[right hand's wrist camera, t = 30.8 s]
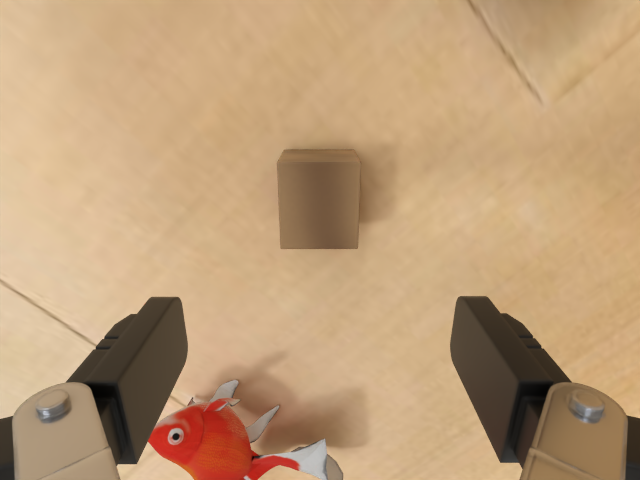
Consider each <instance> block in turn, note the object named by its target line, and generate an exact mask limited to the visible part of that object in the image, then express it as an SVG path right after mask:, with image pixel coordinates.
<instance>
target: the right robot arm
mask: <svg viewBox="0 0 640 480" xmlns="http://www.w3.org/2000/svg"><path fill="white" fill-rule="evenodd" d="M450 350H451V357H452V361H453V364H454V366H455V368H456V370H457V372H458V375H459V377H460V379H461V381H462V383H463V385H464V387H465V389H466V391H467V394H468V396H469V398H470V400H471V402H472V404H473V406H474V408H475V410H476V412H477V415H478V417H479V419H480V421H481V423H482V425H483V427H484V429H485V431H486V433H487V436H488V438H489V440H490V442H491V444H492V446H493V448H494V450H495V452H496V455H497V457H498V459H499V461H500V463H520V465H521V467H522V469H523V470H522V474H521V477H520V480H640V418H636V417H631V416H627V415H626V413H625V412H624V410H623V409H622V408H621V407H620V405H619V404H618V403H616V402H615V401H614V400H613V399H612V398H610V397H609V396H607V395H606V394H604V393H602V392H600V391H598V390H596V389H594V388H592V387H589V386H586V385H583V384H578V383H572V382H571V381H570V379H569V378H568V377H567V376H566V375H565V374H564V372H563V371H562V370H561V369H560V368H559V366H558V365H557V364H556V363H555V362H554V360H553V359H552V358H551V357H550V356H549V355H548V353H547V352H546V351H545V350H544V349H542V348H541V345H540V344H539V343H538V341H537V340H536V339H535V338H533V336H532V334H531V333H530V332H529V331H528V330H527V328H526V327H525V326H524V325H523V324H522V323H521V322H519V321H518V320H516V319H514V318H513V317H511V316H510V315H508V314H507V313H500V312H499V311H498V309H497V308H496V307H495V306H494V304H493V303H492V302H491V301H490V299H489V298H488V297H486V296H460V297H458V299H457V302H456V307H455V314H454V321H453V328H452V334H451V342H450ZM187 351H188V342H187V335H186V328H185V322H184V315H183V308H182V303H181V300H180V298H179V297H151V298H150V299H149V300H148V301H147V302H146V303H145V305H144V306H143V307H142V308H141V310H140V311H139V312H138V313H137V314H131V315H129V316H127V317H126V318H124V319H123V320H121V321H120V322H118V323H117V324H115V325H114V326H113V327H112V329H111V330H110V331H109V332H108V333H107V334H106V336H105V338H104V339H102V340H101V341H100V343H99V344H98V345H97V346H96V349H95V350H93V351H92V352H91V353H90V354H89V356H88V357H87V358H86V359H85V360H84V361H83V363H82V364H81V365H80V366H79V367H78V369H77V370H76V371H75V372H74V373H73V374H72V376H71V377H70V378H69V379H68V380H67V381H66V383H62V384H57V385H54V386H51V387H48V388H46V389H44V390H42V391H40V392H38V393H36V394H34V395H33V396H31V397H30V398H28V399H27V400H26V401H25V402H24V403H22V404H21V405H20V407H19V408H18V409H17V410H16V412H15V413H14V416H11V417H7V418H3V419H0V480H120V477H119V474H118V470H117V467H116V466H117V465H118V464H137V462H138V460H139V458H140V456H141V454H142V452H143V450H144V448H145V446H146V444H147V442H148V440H149V438H150V435H151V433H152V431H153V429H154V427H155V425H156V423H157V421H158V419H159V417H160V415H161V413H162V411H163V408H164V406H165V404H166V402H167V400H168V398H169V396H170V394H171V392H172V390H173V388H174V386H175V383H176V381H177V379H178V377H179V375H180V373H181V371H182V369H183V367H184V365H185V362H186V358H187Z"/></svg>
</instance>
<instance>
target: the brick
mask: <svg viewBox="0 0 640 480" xmlns="http://www.w3.org/2000/svg"><path fill="white" fill-rule="evenodd" d="M277 173H278V197H279V221H280V246H281V249H358V232H359V205H360V177H361V162H360V160H359V158H358V156H357V154H356V152H355V150H284V151H283V153H282V155H281V157H280V158H279V160H278V162H277Z"/></svg>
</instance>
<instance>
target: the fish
mask: <svg viewBox="0 0 640 480" xmlns="http://www.w3.org/2000/svg"><path fill="white" fill-rule="evenodd" d="M237 385H238V381H237V380H233V381H230V382H227V383H224V384H223V385H221V386H220V387H219V388H218V389H217V391H216V393H215V395H214V396H213V398H212V399H211V400H209V402H198V403H195V402H194V401H193V397H192V399H191V401H190V402H189V404H188V405H187V407H184V408H182V409H180V410H178V411H176V412H174V413H172V414H171V415H169V416H167V417H165V418H164V419H162V420H161V421H160V422H159V423H157V424H156V425H155V427H154V429H153V431H152V433H151V435H150V438H149V440H148V442H149V443H150V444H151V445H152V447H153V448H154V449H155V450H156V451H157V452H158V453H159V454H160V455H161V456H162V457H164V458H166V459H168V460H170V461H172V462H174V463H176V464H178V465H179V466H181V467H182V468H183V469H185V470H186V471H187V472H188V473H189V474H190V475H191V476H192V477H193V479H194V480H257V479H259V478H260V477H261V476H262V475H263V474H264V473H266V472H267V471H268V470H270V469H272V468H273V467H275V466H278V465H282V466H286V467H290V468H293V469H295V470H298V471H302V472H305V473H308V474H311V475H314V476H316V477H318V478H320V479H322V480H343V473H342V471H341V469H340V467H339V466H338V464H337V462H336V461H335V460H334V459H333V458H332V457H331V456H329V455H328V454H327V450H326V442H325V439H323V440H320V441H318V442H316V443H313V444H311V445H309V446H306V447H298V448H297V449H295V450H293V451H291V452H288V453H281V454H271V455H261V456H259V455H258V454H256V453H255V452H254V451H252V450H251V447H250V443H252V442H254V441H256V440H257V439H258V438H259V437H260V435H261V434H262V433H263V431H264V429H265V428H266V426H267V424H268V423H269V421H270V420H271V418H272V417H273V416H274V414H275V413H276V411H277V410H278V409H279V405H278V406H276V407H275V408H273V409H272V410H270V411H269V412H267V413H265V414H264V415H263V416H261V417H260V418H259V419H258V420H257V421H256V422H255V423H253V424H252V425H251V426H249V427H247V428H245V427H244V425H243V423H242V422H241V420H240V419H239V417H238V416H237V415H236V414H235V412H234V411H233V410H232V409H230V408H229V407H228V406H227V405H229V404H230V405H231V406H234V405H236V404H237V403H238V402H239V401H240V400H241V399H234V398H233V394H234V392H235V389H236V387H237Z"/></svg>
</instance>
